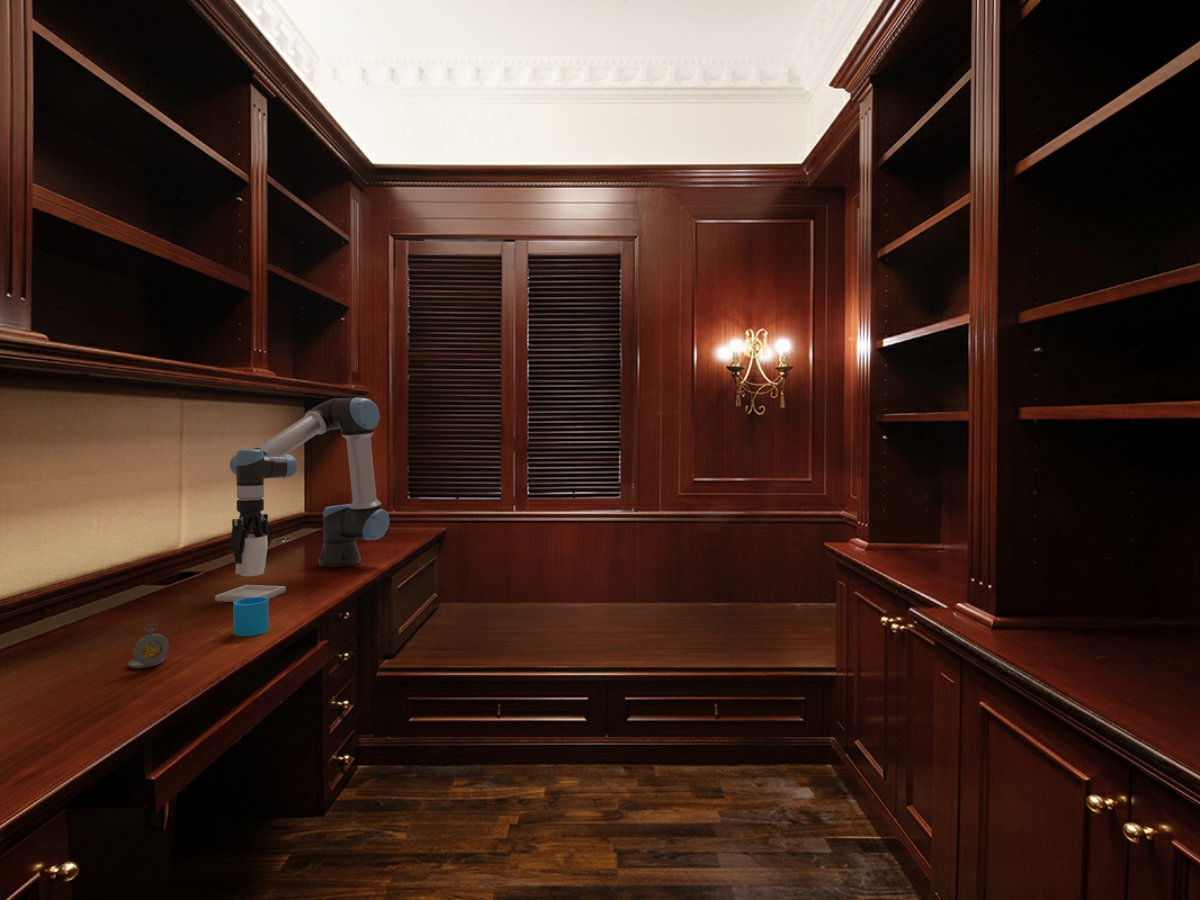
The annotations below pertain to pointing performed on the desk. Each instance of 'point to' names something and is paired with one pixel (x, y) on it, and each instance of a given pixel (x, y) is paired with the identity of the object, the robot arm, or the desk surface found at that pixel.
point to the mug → (251, 616)
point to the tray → (250, 592)
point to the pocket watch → (154, 644)
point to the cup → (255, 555)
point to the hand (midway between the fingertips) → (251, 570)
